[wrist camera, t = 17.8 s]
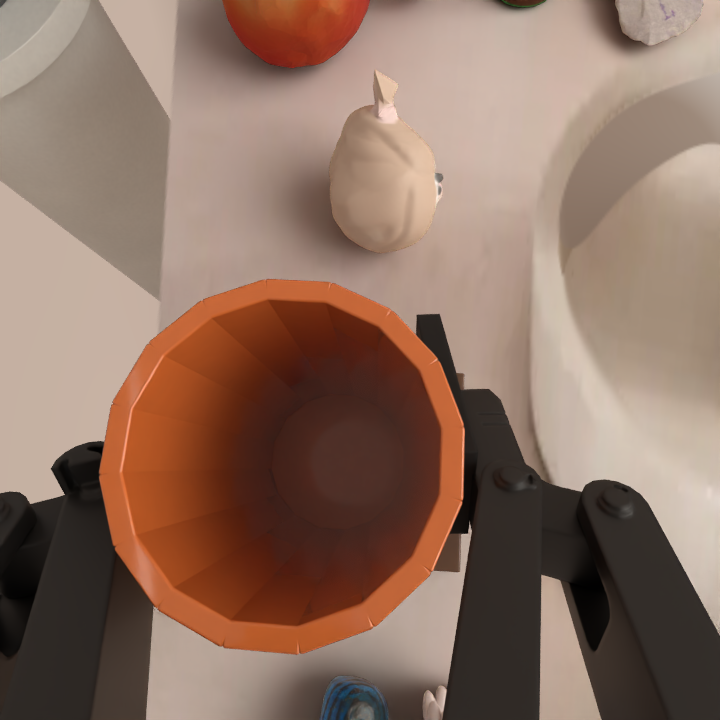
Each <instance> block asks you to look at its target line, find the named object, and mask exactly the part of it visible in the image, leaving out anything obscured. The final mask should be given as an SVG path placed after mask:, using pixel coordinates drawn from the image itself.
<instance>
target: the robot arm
mask: <svg viewBox="0 0 720 720" xmlns="http://www.w3.org/2000/svg"><path fill="white" fill-rule="evenodd" d="M6 1H7V0H0V7H1V6H2V5H3V4H4V3H5V2H6ZM416 336H417V337H418V338H419V339H420V340H421V341H422V342H423V343H424V344H425V345H426V346H427V347H428V348H429V349H430V350H431V351H432V352H433V354H434V355H435V356H436V357H437V358H438V361H440V363H441V366H442V368H443V371H444V373H445V376H446V378H447V381H448V384H449V386H450V389H451V391H452V394H453V397H454V399H455V402H456V404H457V407H458V410H459V412H460V415H461V417H462V420H463V423H464V426H463V427H464V428H465V447H464V497H463V500H462V506H461V508H460V511H459V513H458V515H457V517H456V520H455V522H454V524H453V527H452V529H451V531H450V534H468V529H469V521H470V525H471V529H472V534H471V541H470V547H469V553H468V560H467V566H466V572H465V579H464V585H463V591H462V597H461V604H460V610H459V616H458V623H457V629H456V635H455V642H454V648H453V654H452V660H451V667H450V673H449V679H448V686H447V692H446V698H445V704H444V711H443V717H442V720H539V706H540V632H541V574H542V575H545V576H549V577H552V578H555V579H559V580H561V584H562V587H563V590H564V594H565V597H566V601H567V604H568V607H569V611H570V614H571V618H572V621H573V624H574V628H575V631H576V635H577V638H578V641H579V645H580V648H581V651H582V655H583V658H584V662H585V665H586V668H587V672H588V675H589V679H590V682H591V685H592V689H593V692H594V696H595V699H596V702H597V706H598V709H599V712H600V716H601V719H602V720H720V635H719V633H718V632H717V630H716V628H715V626H714V624H713V622H712V620H711V619H710V617H709V615H708V613H707V611H706V609H705V608H704V606H703V604H702V602H701V600H700V598H699V596H698V595H697V593H696V591H695V589H694V587H693V585H692V584H691V582H690V580H689V578H688V576H687V574H686V572H685V571H684V569H683V567H682V565H681V563H680V561H679V560H678V558H677V556H676V554H675V552H674V550H673V548H672V547H671V545H670V543H669V541H668V539H667V537H666V536H665V534H664V532H663V530H662V528H661V526H660V525H659V523H658V521H657V519H656V517H655V515H654V513H653V512H652V510H651V508H650V506H649V504H648V503H647V502H646V500H645V499H644V498H643V497H642V495H641V494H639V493H638V492H636V491H635V490H634V489H632V488H631V487H629V486H627V485H624V484H622V483H619V482H616V481H610V480H596V481H592V482H590V483H589V484H587V485H585V487H584V489H583V491H582V492H580V491H575V490H571V489H566V488H562V487H558V486H555V485H552V484H549V483H547V482H545V481H543V480H541V478H540V476H539V475H538V474H537V473H536V471H535V470H534V469H532V468H531V467H529V466H528V465H526V464H525V462H524V459H523V457H522V454H521V451H520V449H519V446H518V444H517V441H516V439H515V436H514V433H513V431H512V428H511V426H510V425H509V421H508V418H507V415H505V410H504V408H503V405H502V403H501V400H500V399H499V398H498V397H497V396H496V395H495V394H494V393H493V392H492V391H490V390H489V389H467V390H461V388H460V385H459V381H458V378H457V374H456V371H455V367H454V364H453V360H452V356H451V353H450V349H449V346H448V342H447V339H446V335H445V331H444V328H443V324H442V321H441V317H440V314H426V315H417V326H416ZM103 447H104V442H102V441H97V442H88V443H85V444H82V445H79V446H76V447H74V448H72V449H70V450H69V451H67V452H65V453H64V454H63V455H62V456H60V457H59V458H58V459H57V460H56V461H55V463H54V464H53V466H52V468H51V470H52V471H53V473H54V475H55V477H56V479H57V481H58V483H59V484H60V487H61V488H62V490H63V492H64V494H65V495H63V496H60V497H57V498H53V499H49V500H45V501H42V502H37V503H34V504H30V503H29V501H28V500H27V498H26V496H24V495H23V494H21V493H20V492H5V493H0V720H146V708H147V693H148V678H149V664H150V649H151V635H152V620H153V604H152V602H151V601H150V600H149V598H148V597H147V595H146V594H145V592H144V591H143V590H142V588H141V587H140V585H139V584H138V582H137V581H136V579H135V578H134V577H133V575H132V574H131V572H130V571H129V569H128V568H127V567H126V565H125V564H124V562H123V561H122V559H121V558H120V556H119V555H118V554H117V552H116V551H115V546H113V544H112V539H111V534H110V529H109V524H108V519H107V515H106V510H105V505H104V500H103V495H102V490H101V485H100V480H99V476H100V474H99V469H100V464H101V458H102V453H103Z"/></svg>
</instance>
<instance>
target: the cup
mask: <svg viewBox="0 0 720 720" xmlns="http://www.w3.org/2000/svg"><path fill="white" fill-rule="evenodd" d="M463 426H464V423H463V420H462V417H461V415H460V412H459V410H458V407H457V404H456V402H455V399H454V397H453V394H452V391H451V389H450V386H449V384H448V381H447V378H446V376H445V373H444V371H443V368H442V366H441V363H440V361H438V358H437V357H436V356H435V355H434V354H433V352H432V351H431V350H430V349H429V348H428V347H427V346H426V345H425V344H424V343H423V342H422V341H421V340H420V339H419V338H418V337H417V336H416V334H415V333H414V332H413V331H412V330H411V329H410V328H409V327H408V326H407V325H406V324H405V323H404V322H403V321H402V320H401V319H400V317H399V316H398V315H397V314H396V313H395V312H393V311H391V309H389V308H387V307H385V306H383V305H381V304H378V303H376V302H374V301H372V300H370V299H367V298H365V297H363V296H361V295H359V294H357V293H354V292H352V291H350V290H348V289H346V288H343V287H341V286H339V285H337V284H335V283H332V284H331V283H330V282H317V281H297V280H278V279H266V280H260V281H257V282H254V283H251V284H248V285H245V286H242V287H239V288H236V289H233V290H230V291H227V292H224V293H221V294H218V295H215V296H212V297H209V298H206V299H203V301H200V302H198V303H197V304H196V305H195V306H193V307H192V308H191V309H190V310H188V311H187V312H186V313H185V314H183V315H182V316H181V317H180V318H178V319H177V320H176V321H175V322H173V323H172V324H171V325H170V326H168V327H167V328H166V329H164V330H163V331H162V332H161V333H159V334H158V335H157V336H156V337H155V338H153V339H152V340H151V341H150V342H149V344H147V345H146V347H145V349H144V350H143V352H142V354H141V355H140V357H139V358H138V360H137V362H136V363H135V365H134V367H133V368H132V370H131V372H130V373H129V375H128V377H127V378H126V380H125V382H124V383H123V385H122V387H121V388H120V390H119V392H118V393H117V395H116V397H115V398H114V400H113V404H112V405H111V408H110V414H109V420H108V425H107V430H106V436H105V441H104V447H103V453H102V458H101V464H100V469H99V474H100V476H99V480H100V485H101V490H102V495H103V500H104V505H105V510H106V515H107V519H108V524H109V529H110V534H111V539H112V544H113V546H115V551H116V552H117V554H118V555H119V556H120V558H121V559H122V561H123V562H124V564H125V565H126V567H127V568H128V569H129V571H130V572H131V574H132V575H133V577H134V578H135V579H136V581H137V582H138V584H139V585H140V587H141V588H142V590H143V591H144V592H145V594H146V595H147V597H148V598H149V600H150V601H151V602H152V604H153V605H154V607H156V608H158V610H159V611H160V612H162V613H164V614H165V615H167V616H169V617H170V618H172V619H174V620H176V621H177V622H179V623H181V624H182V625H184V626H186V627H187V628H189V629H191V630H193V631H194V632H196V633H198V634H199V635H201V636H203V637H204V638H206V639H208V640H210V641H211V642H213V643H215V644H216V645H218V646H221V647H222V646H223V647H224V648H229V649H240V650H251V651H262V652H273V653H284V654H295V655H297V654H299V653H300V654H304V653H307V652H309V651H312V650H315V649H318V648H321V647H323V646H326V645H329V644H332V643H335V642H337V641H340V640H343V639H346V638H348V637H351V636H354V635H357V634H360V633H362V632H365V631H368V630H371V629H372V628H373V626H374V627H375V626H377V625H378V624H379V623H380V622H382V621H383V620H384V619H385V618H386V617H387V616H388V615H389V614H390V613H391V612H392V611H393V610H394V609H395V608H396V607H397V606H398V605H399V604H400V603H401V602H403V601H404V600H405V599H406V598H407V597H408V596H409V595H410V594H411V593H412V592H413V591H414V590H415V589H416V588H417V587H418V586H419V585H420V584H421V583H422V582H424V581H425V580H426V579H427V578H428V577H429V576H430V574H431V572H432V571H433V570H434V568H435V566H436V563H437V561H438V559H439V557H440V554H441V552H442V550H443V547H444V545H445V543H446V540H447V538H448V536H449V534H450V531H451V529H452V527H453V524H454V522H455V520H456V517H457V515H458V513H459V511H460V508H461V506H462V500H463V497H464V447H465V428H464V427H463Z"/></svg>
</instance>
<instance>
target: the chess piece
mask: <svg viewBox="0 0 720 720" xmlns="http://www.w3.org/2000/svg"><path fill="white" fill-rule="evenodd" d="M501 1H503V2H504V3H506V4H509V5H512V6H515V7H532V6H536V5H539V4H541V3H543V2H545V1H546V0H501Z"/></svg>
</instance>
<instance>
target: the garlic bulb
mask: <svg viewBox="0 0 720 720" xmlns="http://www.w3.org/2000/svg"><path fill="white" fill-rule="evenodd" d="M397 87H398V84H397V83H396V82H394V81H393V80H391V79H389V78H388V77H386V76H385V75H383V74H382V73H380V72H378V71H377V70H375V73H374V84H373V90H374V98H375V105H368V106H364V107H362V108H360V109H358V110H356V111H354V112H353V113H351V114H350V115H349V117H348V118H347V120H346V122H345V124H344V127H343V130H342V133H341V136H340V138H339V140H338V142H337V145H336V148H335V150H334V152H333V155H332V158H331V161H330V167H329V177H330V181H331V186H330V200H331V204H332V215H333V218H334V220H335V221H336V223H337V224H338V225H339V227H340V228H341V230H342V232H343V233H344V234H345V235H346V236H347V237H348V238H349V239H350V240H352V241H353V242H355V243H356V244H358V245H359V246H361V247H363V248H365V249H368V250H371V251H373V252H377V253H387V252H392V251H397V250H400V249H403V248H406V247H409V246H411V245H413V244H415V243H416V242H418V241H419V240H420V239H421V238H422V237H423V236H424V235H425V234H426V232H427V231H428V229H429V227H430V225H431V222H432V219H433V216H434V212H435V209H436V205H437V202H438V201H439V200H440V199H441V197H442V193H443V189H442V185H441V183H440V182H441V181H442V180H443V175H442V174H439V173H435V163H434V155H433V153H432V151H431V149H430V147H429V146H428V145H427V143H426V142H425V141H424V140H423V139H422V138H421V137H420V136H419V135H418V134H417V133H416V132H415V131H414V130H413V129H412V128H410V127H409V126H408V125H407V124H406V123H405V122H404V121H403V120H402V119H401V118H400V117H399V116H397V112H396V109H395V105H394V101H393V98H394V95H395V92H396V90H397Z"/></svg>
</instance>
